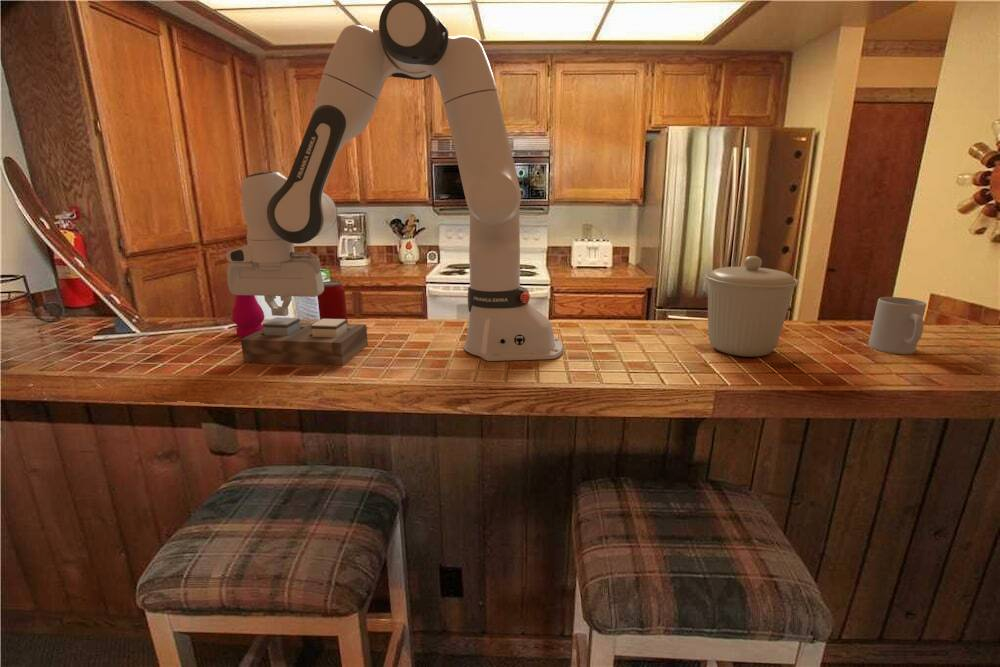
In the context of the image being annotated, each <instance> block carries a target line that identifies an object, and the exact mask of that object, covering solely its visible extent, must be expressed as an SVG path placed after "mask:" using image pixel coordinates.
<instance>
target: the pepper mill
mask: <svg viewBox="0 0 1000 667" xmlns="http://www.w3.org/2000/svg"><path fill="white" fill-rule="evenodd" d="M231 317H232V322H233V323H234V324H235V325H237V327H236V335H237V336H238V337H240V338H245V337H247V336H249V335H251V334H253V333H255V332H257V331H259V330H261V329H263V328H264V327H263V322H264V319H265V313H264V310H263V308H262V306H261V305H260V304H259V302H258V300H257V299H256V295H235V303H234V307H233V309H232V316H231Z"/></svg>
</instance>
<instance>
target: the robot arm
mask: <svg viewBox="0 0 1000 667" xmlns="http://www.w3.org/2000/svg"><path fill="white" fill-rule="evenodd" d="M330 51H331V52H330V54H329V56H328V58H327V61H326V64H325V67H324V70H323V72H322V75H321V79H320V81H319V86H318V89H317V93H316V96H315V100H314V105H313V108H312V111H311V114H310V118H309V122H308V125H307V127H306V130H305V132H304V135H303V137H302V140H301V143H300V145H299V148H298V151H297V154H296V156H295V159H294V162H293V164H292V167H291V169H290V172H289V174H288V177H286V176H285V175H283V173H281V172H280V171H273V170H272V171H262V172H257V173H252V174H249V175H247V176H246V177H244V179H243V180H242V183H241V204H242V205H241V206H242V213H243V219H244V221H245V223H246V227H247V233H246V241H247V245H243V246H241V247H238V248H235V249H232V250H229V251H227V252H226V253H225V257H226V261H227V262H229V263H228V265H227V268H226V276H227V278H226V279H227V285H228V286H227V287H228V290H229V292H230V293H231V294H232V295H233V296H236V295H254V296H255V297H256V296H262V297H264V301H265V303H266V304H267V306H268V307H269V308H270V311H271V315H272V316H273V317H274V316H275V317H287V316H288V315H289V306H290V304H291V301H292V298H293V297H300V298H301V297H302V298H304V297H307V298H309V297H310V298H314V297H317V296H319V295H321V294H322V292H323V291H324V284H323V282H324V280H323V275H322V271H321V269H322V268H321V266H322V265H321V261H320V259H319V257H318V256H317V255H315V254H313V253H312V252H295V248H294V247H295V245H294V244H297V245H298V244H299V245H301V244H305V243H307V242H310V241H312V240H313V239H314V238H316V237H317V236H321V235H322V234H325V233H326V232H328V231H330V230H331V229H332V228H333V227H334V225H335V223H336V221H337V218H338V210H337V206H336V204H335V202H334V200H333V199H332V197H330V195H329V194H327V193H325V192H324V190H325V187H326V185H327V182H328V179H329V176H330V174H331V172H332V168H333V166H334V163H335V160H336V158H337V156H338V154H339V153H340V151H341V150H342V148H344V146H346V144H347V143H348V142H350V141H351V140H353V139H354V138H356V137H358V136H360V135H361V134H362V133H364V131H365V130H366V128H367V127H368V125H369V123H370V121H371V119H372V118H373V116H374V114H375V111H376V108H377V105H378V103H379V100H380V96H381V94H382V92H383V88H384V86H385V83H386V81H387V79H388V78H389V77H390V76H391V77H393V78H398V79H399V78H401V79H408V80H412V81H413V80H416V81H420V80H421V81H422V80H426V79H429V78H430V77H433V78H434V79H435V81H436V83H437V84H438V87H439V90H440V94H441V100H442V103H443V108H444V111H445V115H446V119H447V122H448V126H449V130H450V134H451V137H452V142H453V146H454V147H453V148H454V151H455V156H456V162H457V166H458V170H459V175H460V180H461V185H462V188H463V194H464V197H465V201H466V205H467V206H466V207H467V208H468V210H469V242H468V243H469V246H468V247H469V248H468V263H469V266H468V267H469V287H468V288H467V308H468V312H469V318H468V327H467V334H466V339H465V343H464V346H463V348H464V350H465V352H467V353H469V354H471V355H474V356H478V357H480V358H482V359H483V360H485V361H488V362H493V361H494V362H496V361H497V362H498V361H500V362H501V361H529V360H554V359H557V358H559V357H560V356H561V355H562V354H563V352H564V345H563V342H562V341H561V339H560V338H558V337H556V336H555V334H554V330H553V326H552V323H551V321H550V319H549V318H548V317H547V316H545V314H543V313H542V312H540V311H539V310H538V309H537V308H535V307H534V306H532V305H531V304H530V303H529V302H530V298H531V295H530V291H529V289H528V288H524V287H523V286H521V285H520V284H521V278H520V277H521V267H520V266H521V244H520V243H521V239H520V238H521V237H520V232H521V231H520V206H521V202H522V190H521V187H520V182H519V178H518V173H517V170H516V166H515V161H514V157H513V152H512V149H511V145H510V140H509V137H508V131H507V128H506V125H505V118H504V115H503V111H502V110H503V109H502V106H501V105H502V104H501V100H500V97H499V92H498V88H497V87H498V86H497V84H496V80H495V76H494V74H493V71H492V68H491V64H490V61H489V59H488V56H487V53H486V51H485V49H484V47H483V45H482V43H481V42H480V41H479V40H478V39H476V38H475V37H474V36H473V37H472V36H470V35H457V36H449V30H448V28H447V26H446V25H445V24H444V23H443V22H442V21H441V20H440V19H439V17H438V16H437V15H436V14H435V13H434V11H433V9H431V8H430V7H429V6H428V5H427V4H426V3H425V2H424V1H423V0H390V1H388V2H387V3H386V4H385V6H384V7H383V9H382V11H381V14H380V16H379V20H378V29H371V28H370V27H367V26H363V25H360V24H351V25H348V26H346V27H344V28H343V29H342V31H341V32H340V34H339V35H338V38H337V39H336V41H335V43H334V45H333V47H332V49H331V50H330ZM276 297H280V302H282V305H281V306H278V304H277V302H276V301H275V299H277V298H276Z"/></svg>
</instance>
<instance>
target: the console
mask: <svg viewBox="0 0 1000 667" xmlns="http://www.w3.org/2000/svg"><path fill="white" fill-rule="evenodd" d="M314 323H315V322H300V329H301V330H299V331H298V332H296V333H294V334H292V335H291V336H272V335H265V334H264V328H263V329H261V330H259V331H257V332H255V333H253V334H251V335H249V336H247V337H242V338H241V339H240V344H241V345H240V346H241V350H242V351H241V352H242V358H243V363H256V362H268V363H267V364H283V363H285V365H289V364H290V365H309V366H310V365H312V366H313V365H315V366H337V367H338V366H339V367H340V366H342V367H343V366H344V365H346V364H347V363H348V362H349V361H350V360H352V359H354V358H355V357H356V356H357V355H358V354H359V353H360V352H361V351H363V350H364V349H365V348H366V347H368V346H369V344H368V330H367V324H359V323H355V324H354V323H348V324H347V332H346V333H345V334H343V335H342V336H340V337H339V338H337V337H313V334H312V329H311V325H313V324H314ZM363 348H364V349H363ZM362 349H363V350H362Z"/></svg>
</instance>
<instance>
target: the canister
mask: <svg viewBox="0 0 1000 667" xmlns="http://www.w3.org/2000/svg"><path fill="white" fill-rule="evenodd" d="M762 263H763V261H762V259H761V257H759V256H756V255H749V256H747V257H745V258H744V260H743V266H725V267H717V268H715V269H713V270H712V271H711V272H708V273H705V276H704V278H705V279H706V280H707V326H708V329H707V330H708V339H709V342H710V345H711V346H712V347H713V348H714V349H716V350H717V351H719V352H722V353H723V354H727V355H731V356H735V357H737V356H738V357H744V358H745V357H748V358H750V357H751V358H755V357H756V358H757V357H764V356H766V355H769V354H770V353H772V352H773V351H774V350H775V348H776V347H777V344H778V342H779V339H780V336H781V333H782V330H783V327H784V324H785V321H786V318H787V314H788V310H789V307H790V304H791V301H792V296H793V292H794V289H795V287H796V286H798V285H799V283H800V281H799V280H798V279H797V278H795V277H794V276H793V275H791V273H788V272H785V271H782V270H777V269H771V268H767V267H761V266H762V265H763V264H762Z"/></svg>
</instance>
